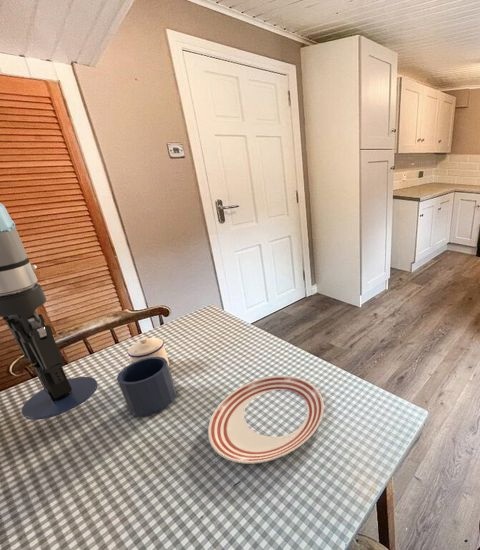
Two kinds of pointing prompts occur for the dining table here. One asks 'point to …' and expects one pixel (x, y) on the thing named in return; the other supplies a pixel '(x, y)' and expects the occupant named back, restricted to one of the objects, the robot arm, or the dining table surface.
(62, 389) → the robot arm
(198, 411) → the dining table surface
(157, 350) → the teacup with lid
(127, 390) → the dark grey canister
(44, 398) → the pot lid
